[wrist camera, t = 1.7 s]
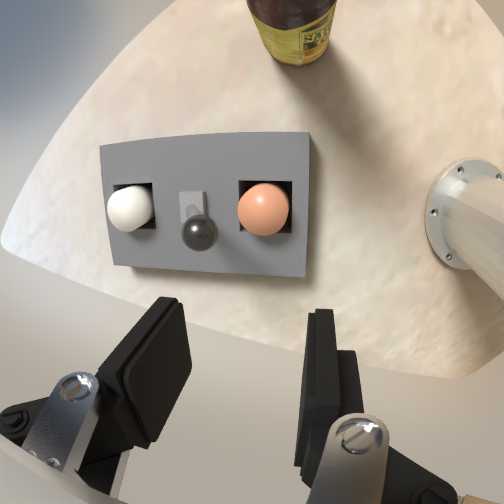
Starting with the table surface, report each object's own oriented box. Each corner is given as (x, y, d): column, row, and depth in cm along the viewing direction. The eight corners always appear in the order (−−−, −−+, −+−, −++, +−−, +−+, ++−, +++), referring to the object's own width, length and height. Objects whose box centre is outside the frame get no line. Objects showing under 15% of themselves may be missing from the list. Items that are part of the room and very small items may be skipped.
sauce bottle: (315, 77, 26) (326, -15, 8) (256, 57, 26) (182, -41, 8) (336, 25, 24) (364, -96, 5) (278, 7, 24) (237, -119, 6)
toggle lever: (204, 194, 28) (220, 217, 20) (205, 221, 29) (222, 255, 21) (176, 197, 28) (180, 221, 19) (178, 224, 29) (184, 259, 20)
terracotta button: (289, 181, 29) (287, 187, 26) (289, 226, 31) (287, 236, 27) (244, 181, 30) (236, 186, 27) (245, 224, 31) (238, 235, 28)
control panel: (308, 133, 28) (309, 132, 25) (305, 265, 33) (305, 281, 30) (114, 144, 32) (95, 146, 29) (126, 255, 37) (110, 267, 34)
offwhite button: (156, 183, 31) (140, 189, 28) (159, 222, 33) (144, 232, 30) (122, 185, 32) (105, 190, 29) (126, 222, 34) (110, 231, 30)
